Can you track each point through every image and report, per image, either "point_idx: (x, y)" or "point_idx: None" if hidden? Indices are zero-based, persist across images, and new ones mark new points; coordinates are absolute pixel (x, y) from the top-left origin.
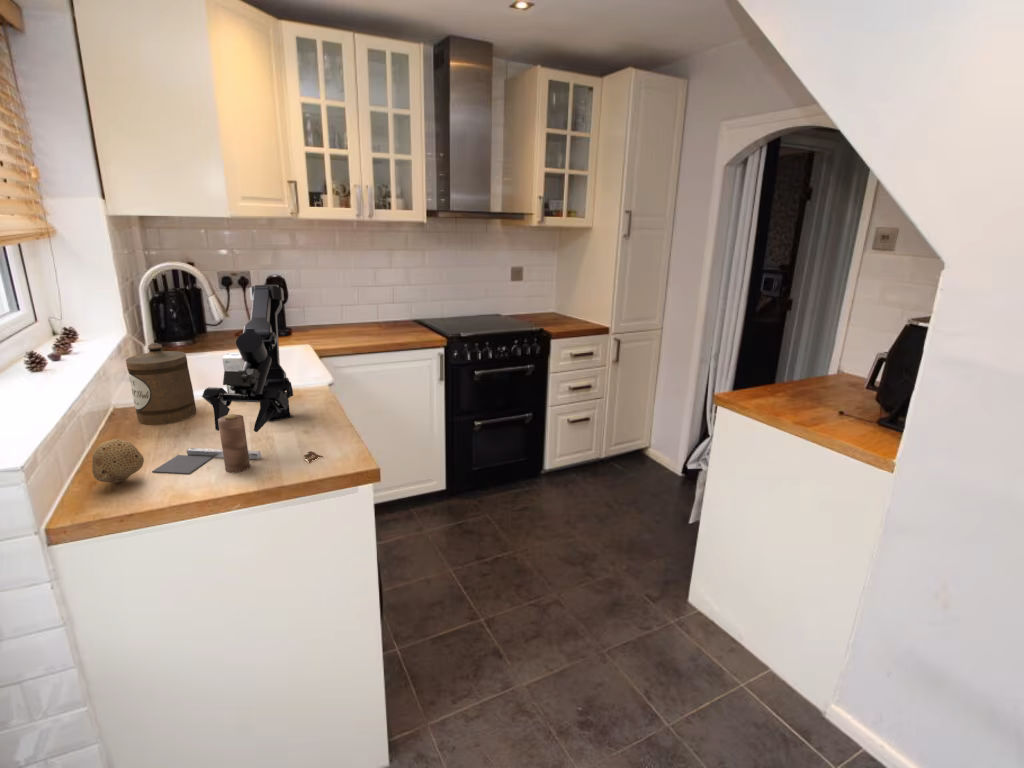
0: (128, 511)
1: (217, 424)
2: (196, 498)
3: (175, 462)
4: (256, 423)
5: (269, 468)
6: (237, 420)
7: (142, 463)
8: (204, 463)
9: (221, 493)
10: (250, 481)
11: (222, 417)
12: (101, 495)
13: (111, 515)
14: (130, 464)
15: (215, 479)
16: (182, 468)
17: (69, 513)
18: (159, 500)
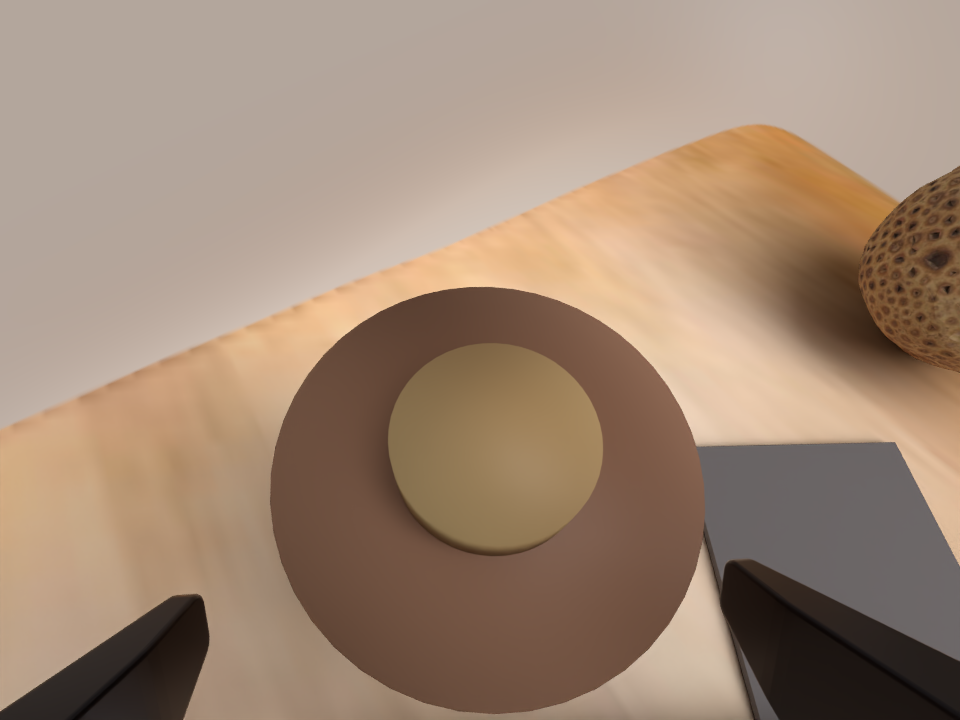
0: (629, 178)
1: (772, 588)
2: (460, 258)
3: (905, 574)
4: (105, 662)
5: (230, 605)
6: (316, 380)
7: (897, 319)
8: None
9: (378, 298)
10: None
11: (670, 473)
12: (838, 249)
13: (658, 160)
14: (887, 240)
15: None
16: (776, 497)
17: (793, 161)
18: (593, 236)
